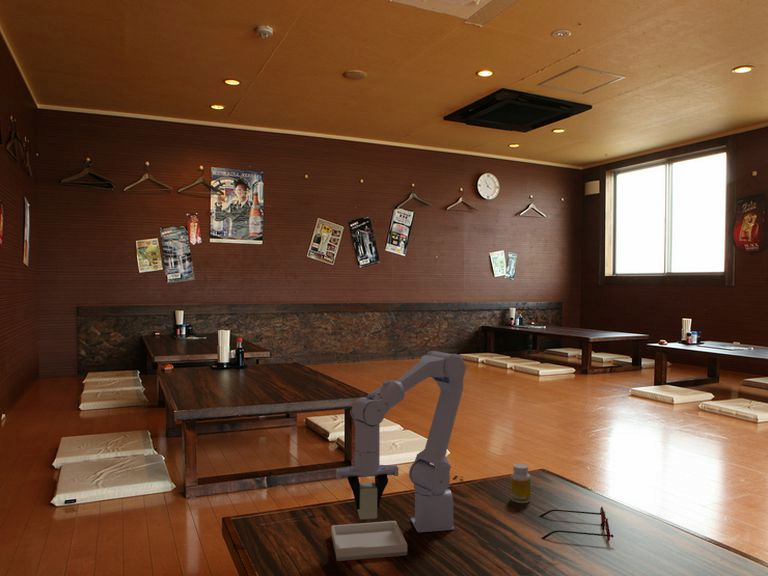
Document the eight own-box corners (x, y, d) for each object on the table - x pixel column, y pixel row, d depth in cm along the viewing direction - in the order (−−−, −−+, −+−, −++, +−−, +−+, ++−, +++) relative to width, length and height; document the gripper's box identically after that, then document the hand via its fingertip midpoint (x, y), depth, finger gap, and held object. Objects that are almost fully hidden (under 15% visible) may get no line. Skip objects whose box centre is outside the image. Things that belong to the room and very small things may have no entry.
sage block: (374, 511, 139) (374, 482, 138) (377, 518, 135) (377, 488, 135) (357, 512, 138) (357, 483, 138) (360, 519, 134) (360, 489, 134)
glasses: (613, 547, 136) (613, 526, 136) (541, 540, 140) (541, 520, 140) (605, 523, 150) (605, 504, 149) (538, 517, 153) (539, 498, 153)
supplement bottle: (530, 504, 161) (530, 469, 161) (510, 502, 162) (511, 468, 162) (529, 497, 166) (529, 463, 166) (510, 495, 168) (510, 462, 167)
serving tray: (395, 530, 144) (395, 520, 144) (407, 555, 131) (407, 544, 131) (331, 535, 141) (331, 525, 141) (336, 561, 128) (336, 550, 128)
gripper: (394, 443, 141) (394, 498, 141) (335, 446, 139) (335, 502, 139) (400, 451, 134) (400, 510, 135) (337, 455, 132) (337, 514, 132)
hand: (367, 507), depth 136 cm, fingers closed on sage block, 4 cm apart
